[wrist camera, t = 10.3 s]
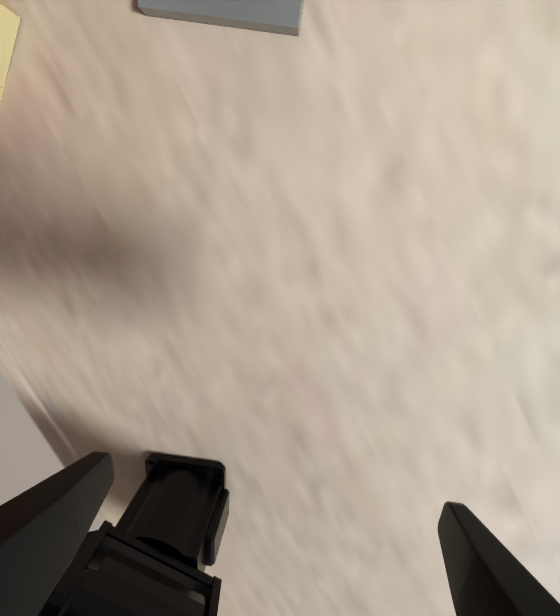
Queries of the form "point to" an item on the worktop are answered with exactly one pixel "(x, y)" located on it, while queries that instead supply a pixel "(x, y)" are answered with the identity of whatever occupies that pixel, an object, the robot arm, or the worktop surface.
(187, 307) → the worktop surface
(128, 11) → the worktop surface
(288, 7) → the slate coaster
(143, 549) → the robot arm
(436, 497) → the worktop surface
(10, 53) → the milk carton
